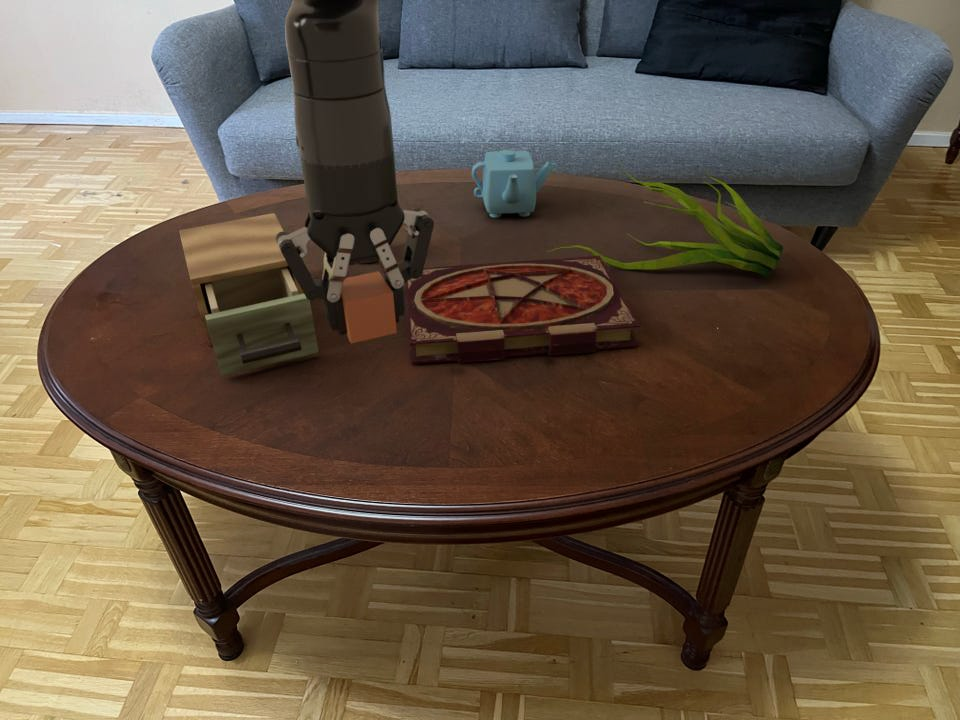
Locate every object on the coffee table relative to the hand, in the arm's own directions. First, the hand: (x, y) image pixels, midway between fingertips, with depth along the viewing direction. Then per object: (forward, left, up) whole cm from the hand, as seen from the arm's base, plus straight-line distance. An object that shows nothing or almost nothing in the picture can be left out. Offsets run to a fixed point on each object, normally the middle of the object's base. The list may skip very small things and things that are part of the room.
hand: (367, 323), depth 67 cm
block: (0, 0, 0) cm, 0 cm away
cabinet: (-8, +34, -15) cm, 38 cm away
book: (+24, +17, -15) cm, 33 cm away
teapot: (+39, +48, -15) cm, 63 cm away
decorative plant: (+50, +19, -15) cm, 55 cm away
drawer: (-8, +22, -14) cm, 27 cm away
